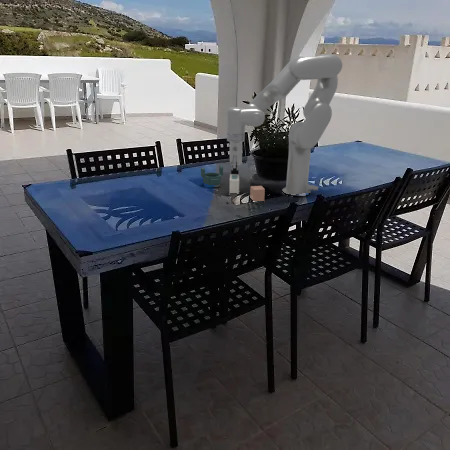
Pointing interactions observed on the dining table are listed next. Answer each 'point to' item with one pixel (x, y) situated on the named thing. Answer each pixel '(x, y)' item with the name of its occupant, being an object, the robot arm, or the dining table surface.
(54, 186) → the dining table surface
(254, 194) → the terracotta block
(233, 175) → the cream block
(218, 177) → the green basket
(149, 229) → the dining table surface
